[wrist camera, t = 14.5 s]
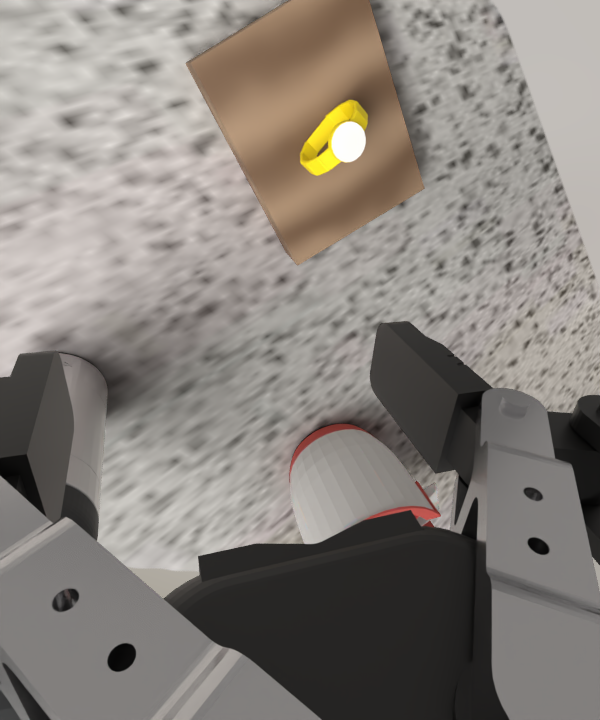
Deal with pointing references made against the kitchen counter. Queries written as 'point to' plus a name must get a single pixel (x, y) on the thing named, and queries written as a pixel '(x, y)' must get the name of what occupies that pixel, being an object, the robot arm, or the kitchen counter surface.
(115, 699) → the robot arm
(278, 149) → the block
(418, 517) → the citrus juicer
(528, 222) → the kitchen counter surface
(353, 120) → the watch
